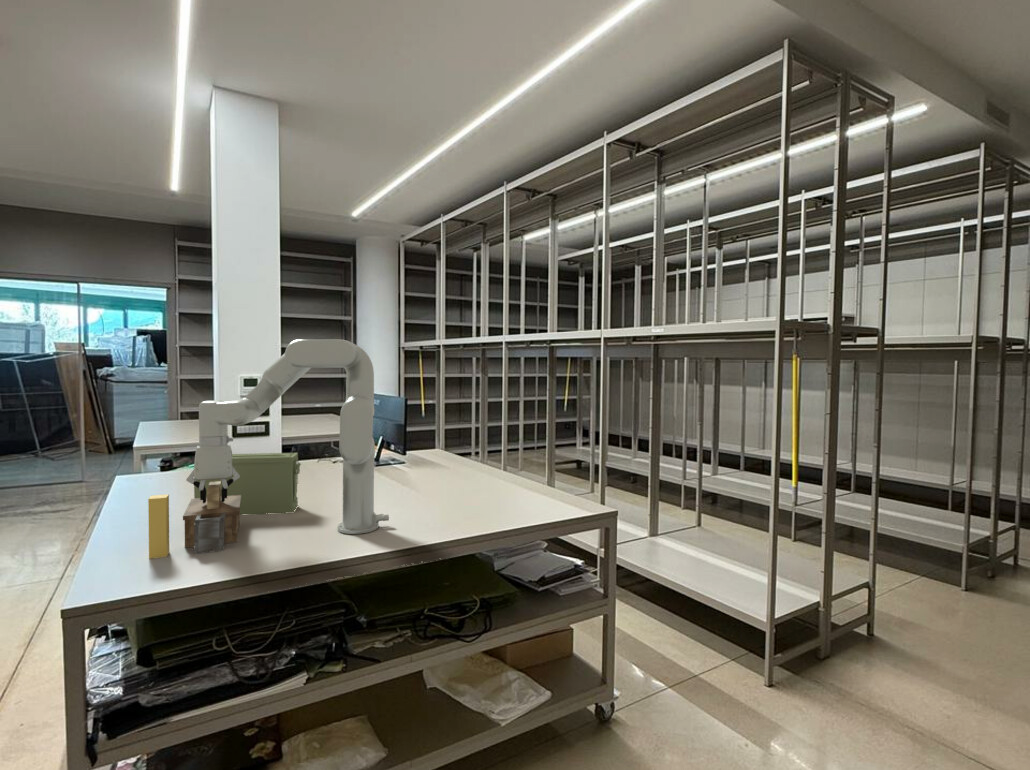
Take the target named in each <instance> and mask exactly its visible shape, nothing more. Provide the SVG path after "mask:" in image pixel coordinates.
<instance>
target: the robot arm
mask: <svg viewBox="0 0 1030 770" xmlns="http://www.w3.org/2000/svg"><path fill="white" fill-rule="evenodd" d="M284 351H285V352H284V353H283V354H282V355H281V356H280V357H279V358H278V359H276V361H274V362H273V363H272V364H271V365H270V366H268V367H267V368H266V369H265V370H264V372H263V374H262V375H261V376H262V377H261V379H260V381H259V383H257V384H256V386H255V387H254V388H253V389H252V390H251V391H250V392H249V393H247V394H246V395H245V396H244V397H242V398H241V399H237V400H231V401H223V400H204V401H200V403H199V406H198V437H199V438H198V440H199V441H198V443H199V444H198V445H197V446H196V450H195V455H194V463H193V465H194V466H193V470H192V472H190V474H189V475H188V477H186V479H185V480H186V482H187V483H190V484H192V485H193V486H194V485H195V486H196V487H197V488H198V489H199V490H200V500H203V503H206V488H205V482H206V480H213V479H221V480H222V484H223V486H222V489H221V495H222V502H224V501H225V498H227V488H228V486H229V485H230V484H232V483H233V482H234V481H235V480H237V479H238V478H239V477H240V474H239V473H238V472H237V471H236V470H235V469H234V467H233V459H232V454H233V450H232V446H231V444H229V443H231V442H234V437H233V436H229V435H228V434H229V433H228V430H229V429H228V426H236V427H237V426H239V427H240V426H243V425H246V424H249V423H252V422H253V421H255V420H257V419H258V418H259V417H260V416H261V415H262V414H263V413H265V411H267V410H268V409H269V408H270V407H271V406H272V405H273V404H274V403H275V402H276V401H277V400H278V399H279V398H281V397H282V396H283V395H284V394H285V393H286V391H287V390H289V389H290V388H291V387H292V386H293V385H294V384H295V383H296V382H297V381H299V379H300V378H301V377H303V376H304V375H305V374H307V372H308V371H310V370H311V369H320V368H321V369H329V368H333V369H334V368H337V369H338V368H341V369H342V368H343V369H344V371H345V373H346V375H345V376H346V377H345V378H346V379H345V382H346V383H345V388H346V389H345V401H344V403H343V404H342V406H341V409H340V414H339V438H338V439H339V440H338V441H339V446H338V447H339V449H338V450H339V454H340V457H341V458H342V459H343V461H342V522H341V523H339V524H338V525H337V531H338V532H339V533H341V534H347V535H348V534H349V535H358V534H366V533H371V532H374V531H375V530H378V528H379V522H387V521H389V519H390V517H389V514H384V513H379V514H377V513H375V511H374V509H375V504H374V503H375V501H374V499H375V454H376V453H375V452H376V451H375V449H376V448H375V446H376V445H375V444H376V443H375V439H374V437H373V432H374V431H373V430H374V429H373V428H374V424H373V423H374V416H375V401H374V400H375V398H374V397H375V371H374V365H373V362H372V360H371V358H370V356H369V354H368V353H367V352H366V351H365V350H364V349H363V348H362V347H360V346H358V344H355V343H353V342H352V341H350V340H345V339H339V338H338V339H335V338H334V339H331V338H330V339H327V338H326V339H308V338H307V339H306V338H305V339H303V338H302V339H301V338H299V339H294V340H292V341H291V342H289V344H288V345H287V346H286V348H285V350H284ZM232 474H233V475H234V476H233V477H232V478H230V479H229V480H228V481H227V478H229V477H231V476H232ZM194 478H195V479H197V480H201V482H199V481H197V480H195V479H194Z"/></svg>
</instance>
